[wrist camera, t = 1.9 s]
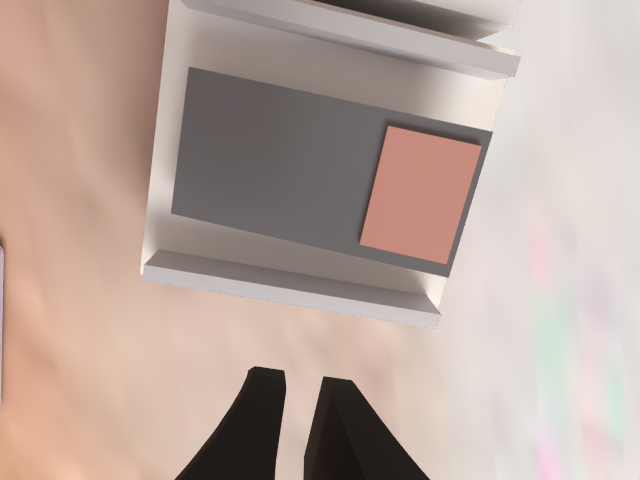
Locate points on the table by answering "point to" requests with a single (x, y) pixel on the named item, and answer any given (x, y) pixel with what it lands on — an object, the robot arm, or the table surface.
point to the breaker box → (324, 79)
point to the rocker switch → (326, 171)
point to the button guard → (442, 14)
